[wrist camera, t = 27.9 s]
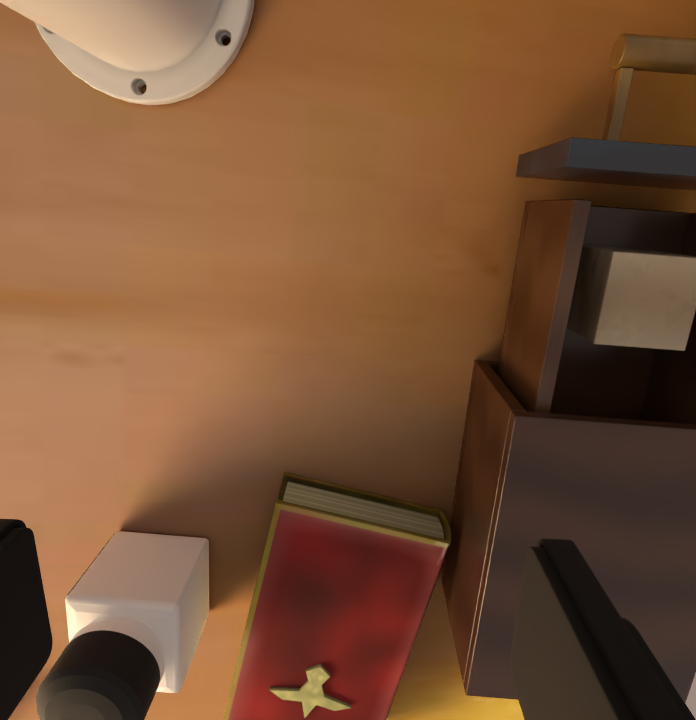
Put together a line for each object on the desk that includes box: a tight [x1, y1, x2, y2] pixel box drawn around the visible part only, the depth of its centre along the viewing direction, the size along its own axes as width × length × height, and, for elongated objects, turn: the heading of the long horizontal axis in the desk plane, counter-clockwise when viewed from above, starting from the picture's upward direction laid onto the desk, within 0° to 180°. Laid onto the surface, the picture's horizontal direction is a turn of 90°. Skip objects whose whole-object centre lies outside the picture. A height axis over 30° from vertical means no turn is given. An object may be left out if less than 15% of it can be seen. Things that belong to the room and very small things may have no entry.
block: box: [567, 245, 696, 351], centre depth 28 cm, size 5×5×6 cm
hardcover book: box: [223, 473, 451, 720], centre depth 38 cm, size 12×21×4 cm, turn 166°
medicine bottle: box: [36, 531, 209, 720], centre depth 34 cm, size 7×7×12 cm
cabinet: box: [442, 360, 696, 703], centre depth 32 cm, size 18×13×10 cm
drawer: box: [497, 34, 696, 424], centre depth 28 cm, size 21×11×8 cm, turn 176°
